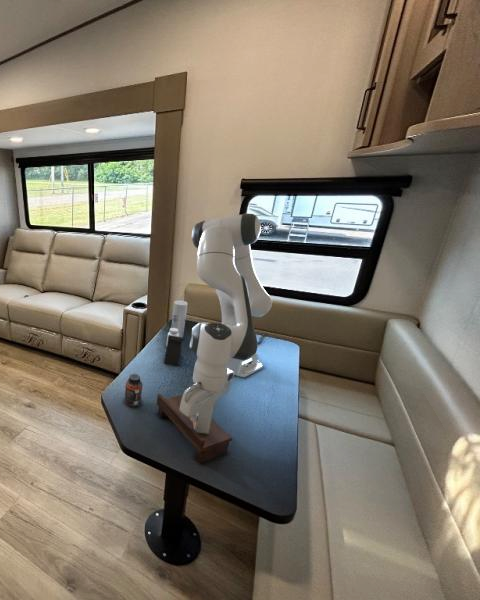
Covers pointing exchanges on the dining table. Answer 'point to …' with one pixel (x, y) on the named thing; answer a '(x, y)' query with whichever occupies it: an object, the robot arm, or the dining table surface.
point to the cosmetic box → (204, 418)
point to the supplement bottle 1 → (133, 390)
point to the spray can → (179, 316)
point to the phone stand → (173, 350)
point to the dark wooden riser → (205, 443)
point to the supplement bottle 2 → (173, 333)
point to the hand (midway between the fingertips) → (202, 414)
